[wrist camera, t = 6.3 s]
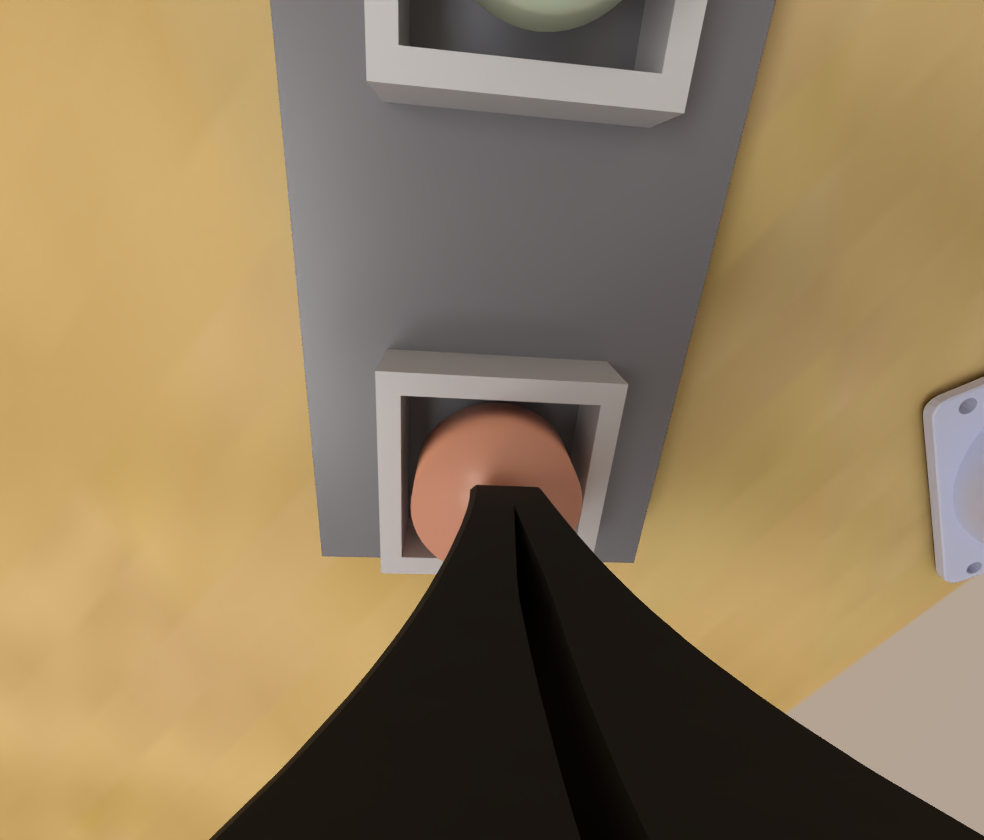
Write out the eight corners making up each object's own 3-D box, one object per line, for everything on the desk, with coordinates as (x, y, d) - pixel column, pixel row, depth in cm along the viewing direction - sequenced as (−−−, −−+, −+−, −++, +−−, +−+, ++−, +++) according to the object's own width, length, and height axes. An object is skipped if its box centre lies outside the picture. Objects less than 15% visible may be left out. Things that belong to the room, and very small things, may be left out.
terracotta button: (417, 398, 10) (411, 427, 9) (578, 406, 11) (595, 435, 9) (416, 531, 12) (410, 573, 10) (557, 534, 12) (569, 576, 11)
